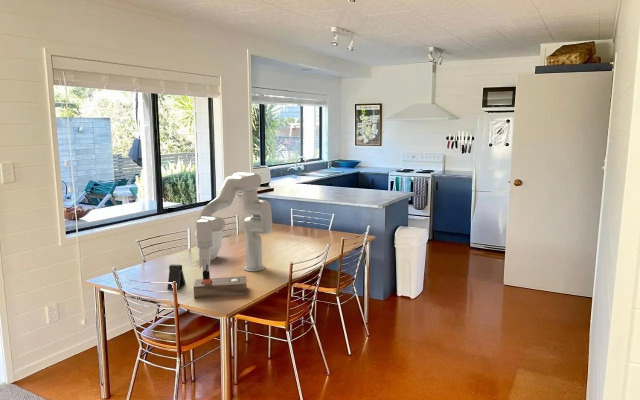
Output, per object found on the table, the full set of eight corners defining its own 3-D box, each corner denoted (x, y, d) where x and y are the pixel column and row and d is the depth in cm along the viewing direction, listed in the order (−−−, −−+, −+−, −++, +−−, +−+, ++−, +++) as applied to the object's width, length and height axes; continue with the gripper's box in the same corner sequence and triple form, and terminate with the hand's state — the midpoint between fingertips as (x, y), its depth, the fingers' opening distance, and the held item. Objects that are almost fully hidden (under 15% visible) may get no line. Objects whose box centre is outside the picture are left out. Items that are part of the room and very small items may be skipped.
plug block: (196, 290, 243) (195, 279, 242) (246, 286, 248) (246, 276, 247) (194, 298, 232) (193, 286, 231) (246, 294, 236) (246, 283, 235)
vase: (217, 262, 292) (215, 223, 288) (190, 261, 296) (188, 223, 292) (228, 255, 309) (226, 218, 305) (203, 253, 313) (201, 217, 309)
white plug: (231, 289, 242) (230, 279, 241) (238, 288, 243) (238, 278, 242) (230, 291, 238) (230, 281, 237) (238, 291, 239) (238, 281, 238)
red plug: (203, 288, 240) (202, 277, 239) (211, 287, 240) (210, 277, 240) (202, 290, 236) (202, 280, 235) (210, 290, 237) (210, 279, 236)
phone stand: (178, 289, 245) (176, 267, 243) (167, 289, 246) (166, 267, 244) (185, 284, 253) (184, 262, 251) (175, 283, 254) (174, 262, 252)
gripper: (198, 240, 241) (200, 274, 244) (195, 247, 226) (197, 284, 229) (213, 240, 242) (214, 274, 245) (211, 247, 228) (213, 283, 230)
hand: (206, 278), depth 237 cm, fingers closed
